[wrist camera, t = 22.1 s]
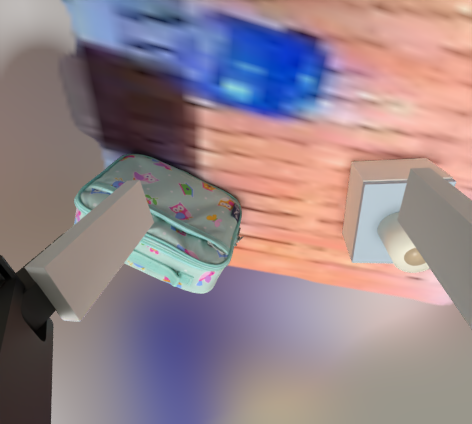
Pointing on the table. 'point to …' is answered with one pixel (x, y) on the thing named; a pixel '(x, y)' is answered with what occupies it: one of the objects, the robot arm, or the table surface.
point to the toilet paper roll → (400, 246)
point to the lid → (376, 218)
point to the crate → (376, 172)
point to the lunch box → (173, 221)
